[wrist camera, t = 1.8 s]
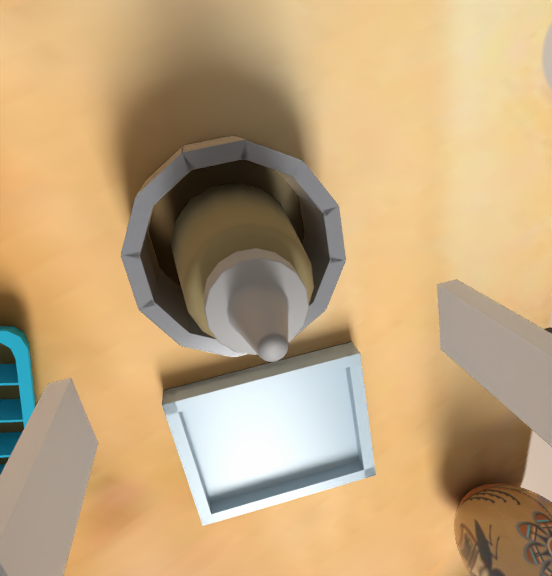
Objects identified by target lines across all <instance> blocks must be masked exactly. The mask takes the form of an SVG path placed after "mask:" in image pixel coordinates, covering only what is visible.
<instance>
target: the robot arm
mask: <svg viewBox="0 0 552 576" xmlns="http://www.w3.org/2000/svg"><path fill="white" fill-rule="evenodd" d="M437 289H438V308H439V327H440V346H441V350H442V351H443V352H444V353H445V354H446V355H448V356H449V357H450V358H451V359H452V360H453V361H454V362H456V363H457V364H458V365H459V366H460V367H461V368H462V369H464V370H465V371H466V372H467V373H468V374H469V375H470V376H472V377H473V378H474V379H475V380H476V381H477V382H478V383H479V384H481V385H482V386H483V387H484V388H485V389H486V390H487V391H489V392H490V393H491V394H492V395H493V396H494V397H495V398H497V399H498V400H499V401H500V402H501V403H502V404H503V405H505V406H506V407H507V408H508V409H509V410H510V411H511V412H513V413H514V414H515V415H516V416H517V417H518V418H519V419H521V420H522V421H523V422H524V423H525V424H526V425H527V426H528V427H530V428H531V429H532V430H533V431H534V432H535V433H537V434H538V435H539V436H540V437H541V438H542V439H543V440H545V441H546V442H547V443H548V444H549V445H550V446H551V447H552V328H546V329H543V328H541V327H539V326H537V325H536V324H534V323H532V322H530V321H529V320H527V319H525V318H523V317H522V316H520V315H518V314H516V313H515V312H513V311H511V310H509V309H508V308H506V307H504V306H502V305H501V304H499V303H497V302H495V301H494V300H492V299H490V298H488V297H487V296H485V295H483V294H481V293H480V292H478V291H476V290H474V289H473V288H471V287H469V286H467V285H466V284H464V283H462V282H460V281H459V280H457V279H456V280H452V281H448V282H444V283H440V284H437ZM97 445H98V442H97V439H96V437H95V434H94V432H93V429H92V427H91V425H90V422H89V420H88V417H87V415H86V413H85V410H84V408H83V405H82V403H81V401H80V398H79V396H78V393H77V391H76V388H75V386H74V384H73V381H72V379H71V378H68V379H64V380H60V381H56V382H52V383H48V384H47V386H46V387H45V389H44V391H43V393H42V395H41V397H40V399H39V401H38V403H37V405H36V407H35V409H34V411H33V413H32V415H31V417H30V419H29V420H28V422H27V424H26V426H25V428H24V430H23V432H22V434H21V436H20V438H19V440H18V442H17V444H16V446H15V448H14V450H13V452H12V453H11V455H10V457H9V459H8V461H7V463H6V465H5V467H4V469H3V471H2V473H1V475H0V576H63V575H64V571H65V568H66V564H67V560H68V556H69V552H70V549H71V545H72V541H73V537H74V533H75V529H76V526H77V522H78V518H79V514H80V510H81V507H82V503H83V499H84V495H85V491H86V487H87V484H88V480H89V476H90V472H91V468H92V465H93V461H94V457H95V453H96V449H97Z"/></svg>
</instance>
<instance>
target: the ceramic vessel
mask: <svg viewBox="0 0 552 576" xmlns="http://www.w3.org/2000/svg"><path fill="white" fill-rule="evenodd" d="M454 533H455V539H456V544H457V547H458V550H459V553H460V556H461V558H462V560H463V562H464V564H465V566H466V568H467V570H468V571H469V573H470V575H471V576H552V502H550V501H549V500H548V499H546V498H544V497H542V496H540V495H538V494H536V493H534V492H532V491H529V490H527V489H524V488H521V487H517V486H513V485H507V484H485V485H481V486H478V487H476V488H474V489H472V490H470V491H469V492H468V493H467V494H466V495H465V496H464V497H463V498H462V500H461V502H460V503H459V505H458V508H457V510H456V514H455V519H454Z"/></svg>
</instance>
